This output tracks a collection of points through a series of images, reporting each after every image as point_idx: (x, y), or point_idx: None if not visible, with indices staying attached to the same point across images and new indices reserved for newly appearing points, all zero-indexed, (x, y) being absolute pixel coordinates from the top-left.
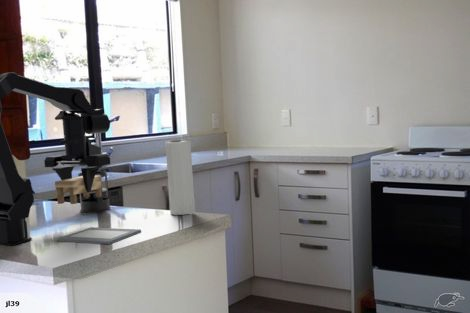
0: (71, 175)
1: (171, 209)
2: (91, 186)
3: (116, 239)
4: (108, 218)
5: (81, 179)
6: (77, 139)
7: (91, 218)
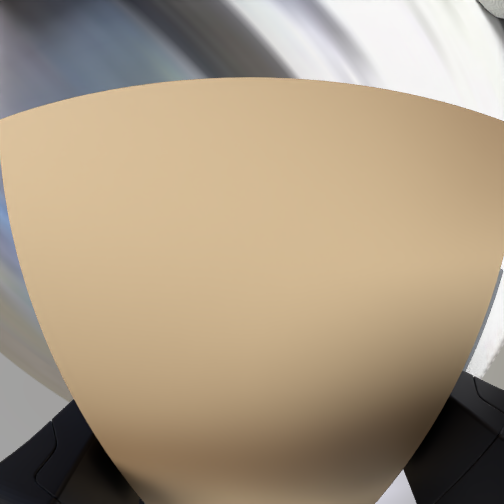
0: (76, 479)
1: (494, 2)
2: None
3: (468, 363)
4: (247, 40)
5: (382, 482)
6: None
7: (137, 62)
